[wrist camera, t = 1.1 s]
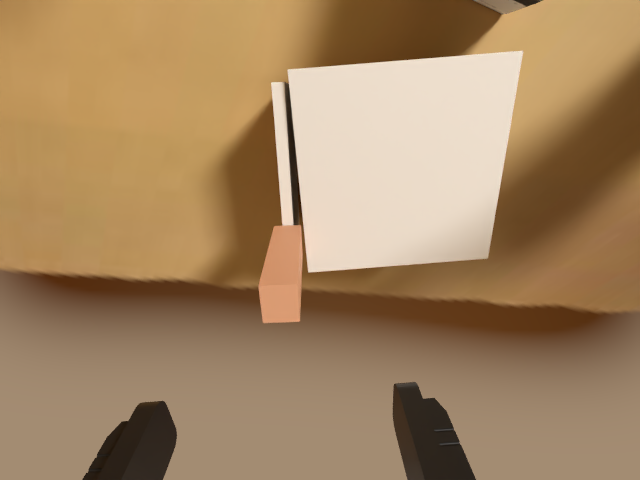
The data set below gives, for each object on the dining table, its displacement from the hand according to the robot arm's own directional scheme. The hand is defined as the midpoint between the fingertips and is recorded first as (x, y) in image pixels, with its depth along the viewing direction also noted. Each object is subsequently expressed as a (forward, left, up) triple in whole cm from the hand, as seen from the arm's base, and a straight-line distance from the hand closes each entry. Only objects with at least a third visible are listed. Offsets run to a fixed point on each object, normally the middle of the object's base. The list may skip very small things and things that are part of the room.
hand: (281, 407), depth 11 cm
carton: (-8, -4, -25) cm, 26 cm away
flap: (0, -4, -24) cm, 25 cm away
